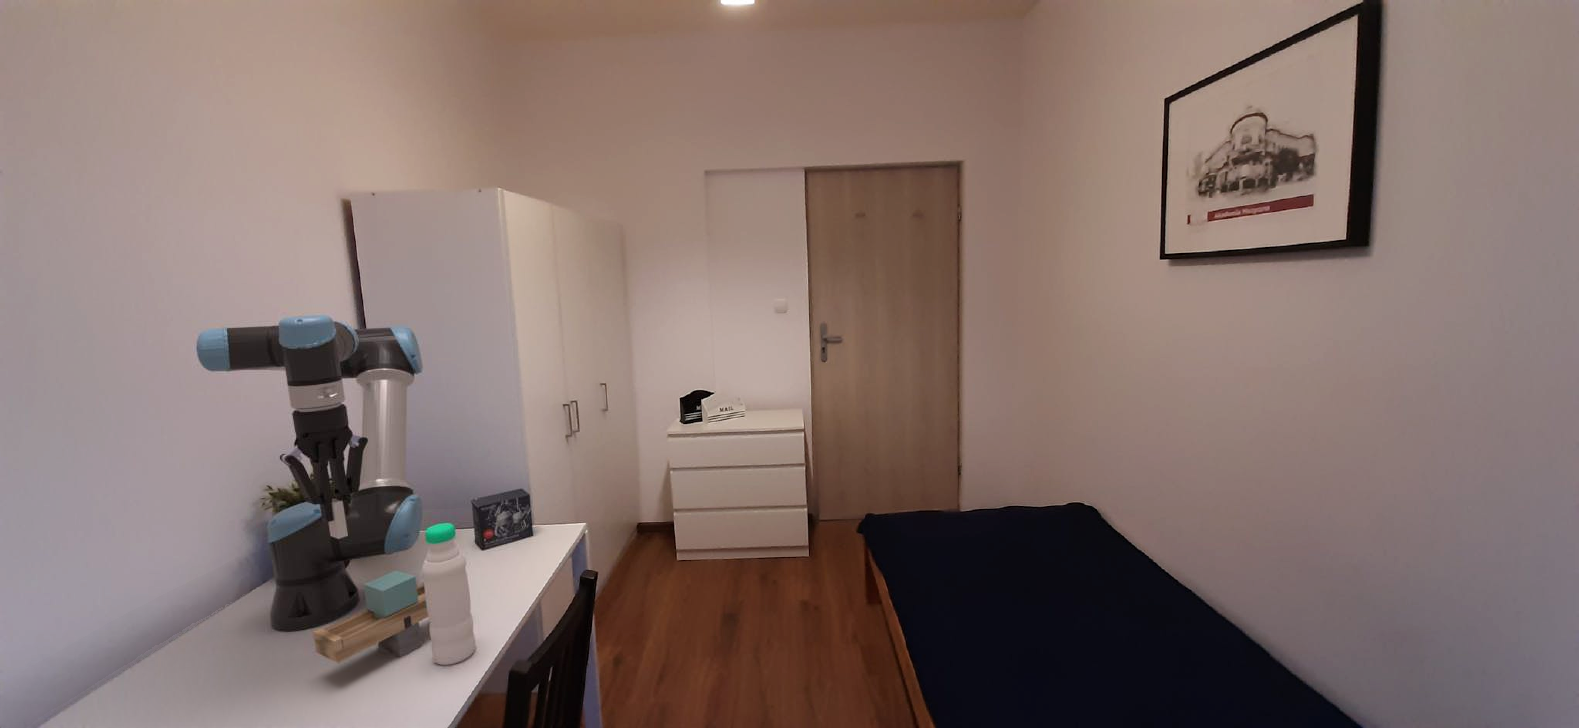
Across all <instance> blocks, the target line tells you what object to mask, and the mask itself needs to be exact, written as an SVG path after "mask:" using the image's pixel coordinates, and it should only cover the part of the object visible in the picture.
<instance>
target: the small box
mask: <svg viewBox="0 0 1579 728" xmlns="http://www.w3.org/2000/svg"><path fill="white" fill-rule="evenodd" d="M531 505H532V504H531V496H530V493H528V492H527V491H526V490H525V489H524V488H516V489H512V490H508V491H504V492H499V493H495V494H491V495H486V496H482V497H477V498H472V499H471V508H472V509H471V510H472V520H473V531H474V532H473V533H474V534H473V535H474V543H475V544H476V545H477V546H478V547H479V549H480V550H481V551H485V550H490V549H491V548H495V547H499V546H502V545H506V544H510V543H513V542H517V541H520V540H523V539H528V538H532V537H534V531H533V521H532V520H533V518H532V507H531Z"/></svg>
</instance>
